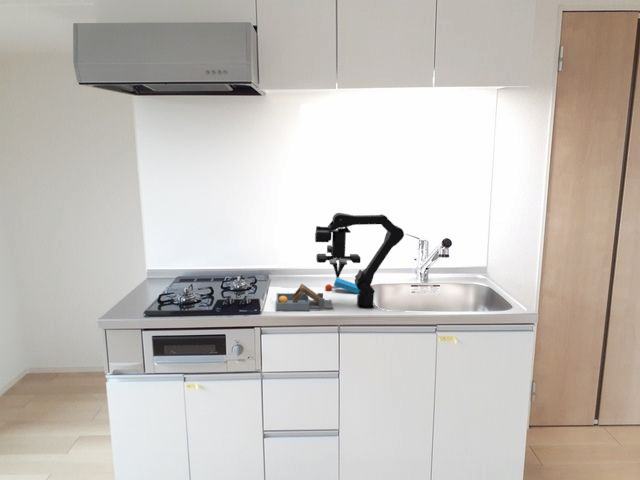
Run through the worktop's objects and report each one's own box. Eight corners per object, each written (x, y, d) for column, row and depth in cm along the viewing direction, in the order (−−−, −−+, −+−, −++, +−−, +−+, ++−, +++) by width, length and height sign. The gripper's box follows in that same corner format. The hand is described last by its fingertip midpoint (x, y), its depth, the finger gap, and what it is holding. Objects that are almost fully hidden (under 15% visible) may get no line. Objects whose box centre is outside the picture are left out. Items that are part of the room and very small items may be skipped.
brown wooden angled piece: (321, 297, 207) (301, 283, 205) (322, 302, 201) (302, 287, 199) (311, 310, 208) (291, 296, 206) (312, 315, 201) (291, 301, 199)
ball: (277, 302, 205) (286, 304, 205) (277, 304, 201) (286, 307, 201) (279, 293, 204) (288, 295, 204) (279, 296, 200) (288, 298, 200)
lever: (359, 299, 230) (325, 287, 232) (363, 286, 229) (329, 275, 230) (358, 303, 224) (323, 291, 225) (363, 290, 222) (327, 278, 223)
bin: (307, 300, 211) (307, 293, 210) (309, 311, 197) (309, 303, 196) (276, 300, 210) (276, 293, 209) (276, 311, 196) (276, 303, 195)
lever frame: (330, 302, 210) (331, 292, 209) (333, 309, 200) (333, 299, 199) (308, 302, 209) (309, 292, 208) (310, 309, 199) (310, 299, 198)
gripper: (357, 239, 208) (355, 272, 211) (315, 238, 207) (314, 272, 210) (361, 244, 198) (359, 279, 200) (317, 243, 196) (316, 279, 199)
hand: (337, 277), depth 203 cm, fingers closed
